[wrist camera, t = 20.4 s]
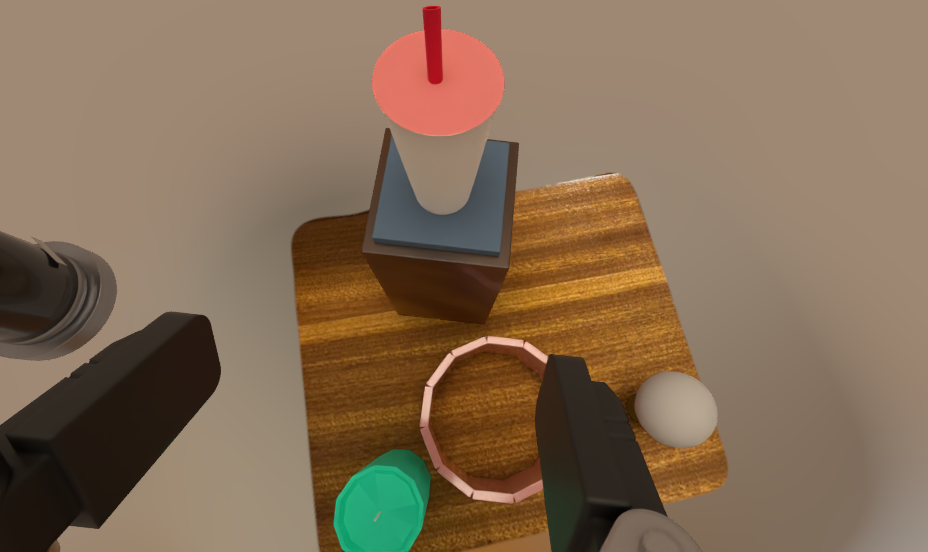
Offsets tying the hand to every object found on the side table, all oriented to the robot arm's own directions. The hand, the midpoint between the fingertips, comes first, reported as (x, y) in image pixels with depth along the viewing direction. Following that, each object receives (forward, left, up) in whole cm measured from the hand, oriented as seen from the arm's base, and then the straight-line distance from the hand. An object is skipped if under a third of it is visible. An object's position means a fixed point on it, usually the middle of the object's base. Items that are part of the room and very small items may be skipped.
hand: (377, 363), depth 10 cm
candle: (-2, -8, -31) cm, 32 cm away
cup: (0, +12, -12) cm, 17 cm away
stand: (0, +12, -31) cm, 33 cm away
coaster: (0, +12, -13) cm, 18 cm away
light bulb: (+20, +1, -31) cm, 37 cm away
